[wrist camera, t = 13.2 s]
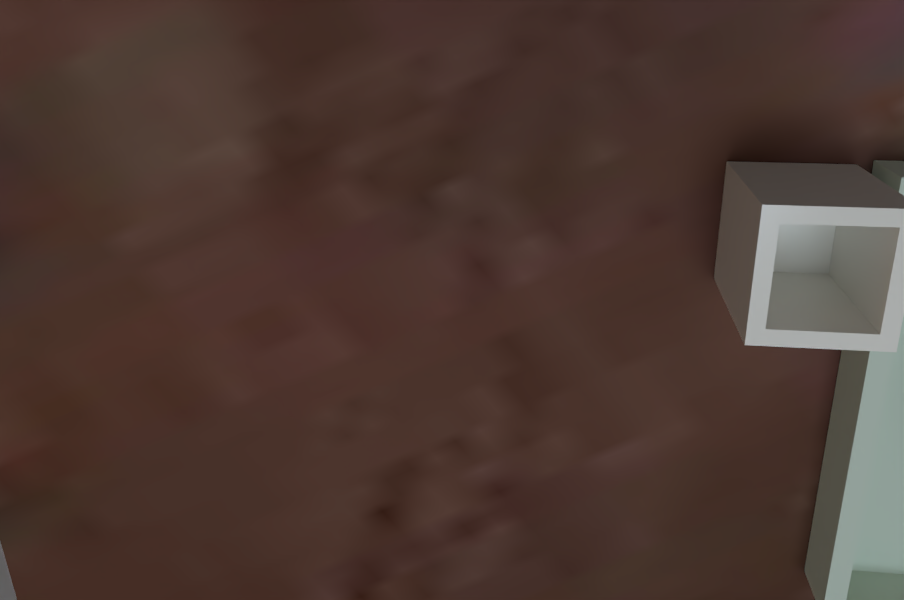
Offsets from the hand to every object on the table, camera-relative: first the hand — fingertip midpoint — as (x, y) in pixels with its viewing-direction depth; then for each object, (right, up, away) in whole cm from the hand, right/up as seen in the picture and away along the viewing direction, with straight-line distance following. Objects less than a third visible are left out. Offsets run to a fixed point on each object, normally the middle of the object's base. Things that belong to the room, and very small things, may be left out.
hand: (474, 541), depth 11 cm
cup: (+15, +7, +29) cm, 33 cm away
